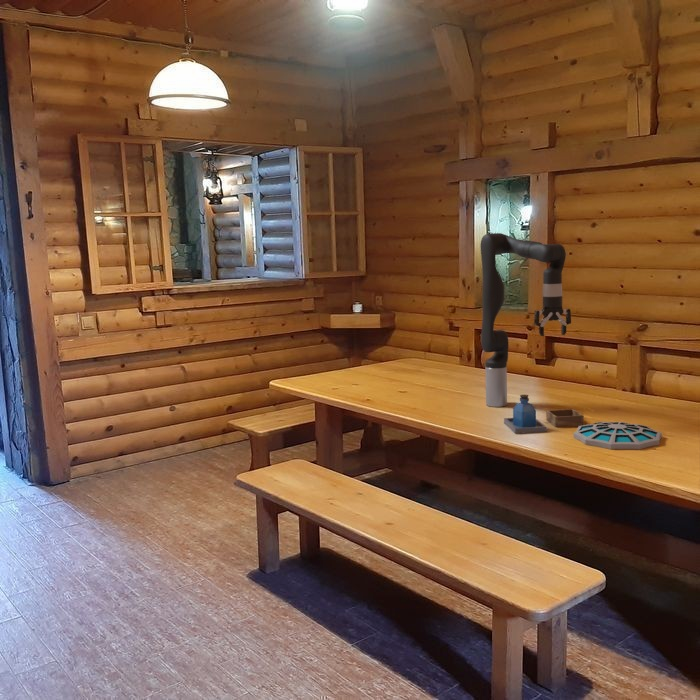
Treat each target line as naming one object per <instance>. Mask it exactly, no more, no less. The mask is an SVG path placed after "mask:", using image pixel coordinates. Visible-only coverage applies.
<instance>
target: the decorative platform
mask: <svg viewBox="0 0 700 700" xmlns="http://www.w3.org/2000/svg"><path fill="white" fill-rule="evenodd" d="M662 435H663V433H662V432H661V431H658V430H655V429H654V428H651V427H649V426H647V425H644V424H638V423H630V422H629V423H628V422H624V421H614V422H613V421H597V422H594V423H590V424H584V425H583V426H577V429H576V430H575V431H574V432H573V438H574V439H576V440H578V441H579V442H581V441H582V443H583V444H584V445H585V444H586V445H587V446H592V447H598V448H603V449H608V450H643V449H647V448H650V447H651V448H652V447H655V446H659V445H660V440H661V439H662V437H663V436H662Z"/></svg>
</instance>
